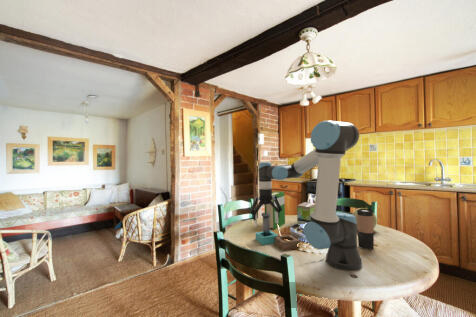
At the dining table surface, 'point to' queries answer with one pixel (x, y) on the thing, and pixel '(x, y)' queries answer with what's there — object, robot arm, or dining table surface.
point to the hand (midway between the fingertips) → (266, 224)
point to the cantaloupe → (373, 217)
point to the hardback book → (272, 211)
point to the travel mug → (365, 228)
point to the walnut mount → (286, 242)
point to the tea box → (304, 212)
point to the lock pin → (266, 224)
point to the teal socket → (266, 238)
